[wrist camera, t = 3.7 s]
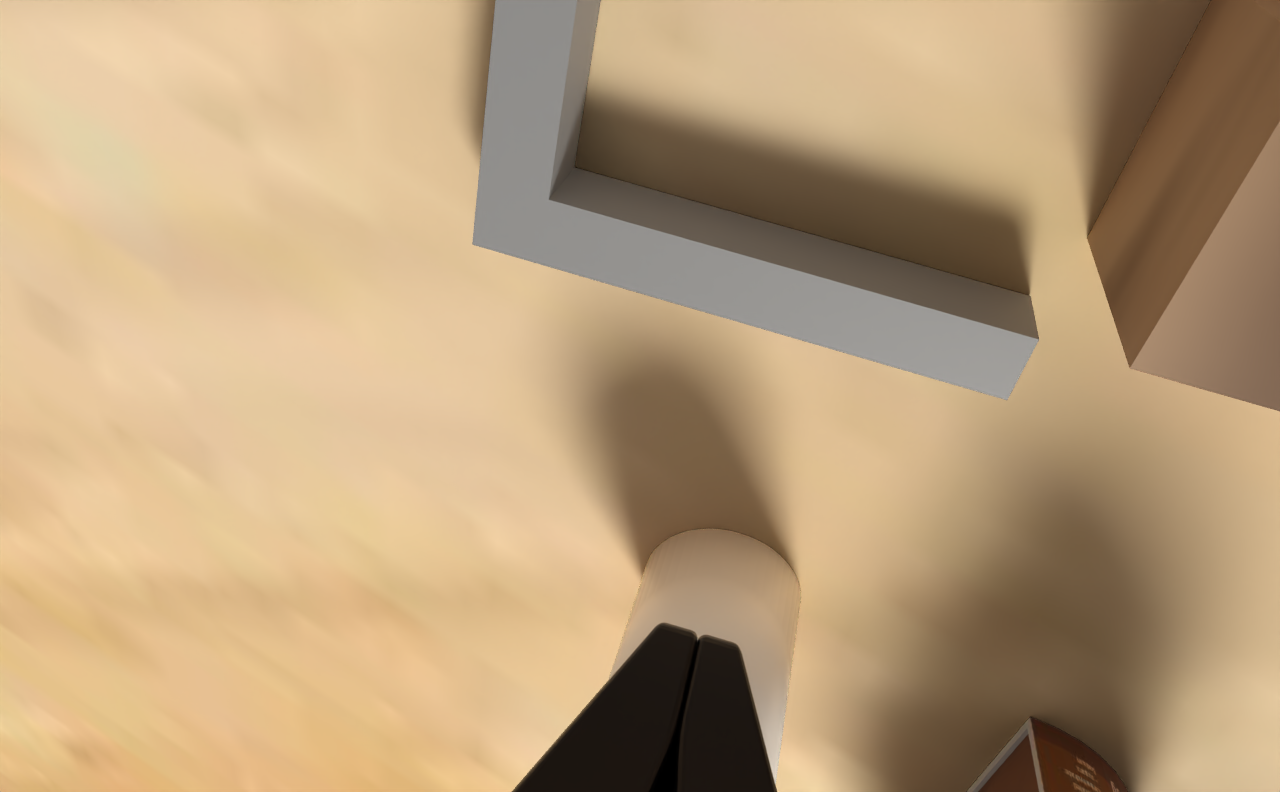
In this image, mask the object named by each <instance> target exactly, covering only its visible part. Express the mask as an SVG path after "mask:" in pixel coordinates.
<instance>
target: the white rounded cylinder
mask: <svg viewBox="0 0 1280 792" xmlns="http://www.w3.org/2000/svg"><path fill="white" fill-rule="evenodd" d="M800 603H801V590H800V586H799V582H798V580H797V577H796V575H795V573H794V572H793V570H792V568H791V567H790V566H789V565H788V563H787V562H786V561H785V560H784V559H783V558H782V557H781V556H780V555H779V554H778V553H777V552H775V551H774V550H773V549H772V548H770V547H769V546H767V545H765V544H764V543H762V542H760V541H758V540H756V539H754V538H752V537H749V536H747V535H744V534H741V533H737V532H733V531H729V530H722V529H696V530H689V531H685V532H682V533H679V534H676V535H674V536H672V537H670V538H668V539H667V540H665V541H663V542H662V543H661V544H660V545H659V546H657V548H656V549H655V550H654V551H653V552H652V554H651V556H650V557H649V559H648V562H647V564H646V567H645V570H644V573H643V576H642V580H641V583H640V586H639V589H638V592H637V595H636V598H635V601H634V604H633V607H632V610H631V613H630V616H629V619H628V622H627V625H626V628H625V631H624V634H623V637H622V640H621V643H620V646H619V649H618V652H617V655H616V659H615V662H614V665H613V668H612V671H611V674H610V677H609V679H610V678H611V677H612V676H613V675H614V673H615V672H616V671H617V670H618V669H619V668H620V666H621V665H622V664H623V663H624V662H625V661H626V660H627V658H628V657H629V656H630V655H631V654H632V653H633V652H634V650H635V649H636V648H637V647H638V646H639V645H640V643H641V642H642V641H643V640H644V639H645V638H646V637H647V635H648V634H649V633H650V632H651V631H652V630H653V628H654V627H655V626H657V625H658V624H660V623H663V622H664V623H669V624H672V625H676V626H679V627H683V628H686V629H690V630H692V631H694V632H695V633H696V634H697V637H698V639H699V637H700V636H702V635H710V636H714V637H717V638H720V639H724V640H727V641H731V642H734V643H736V644H737V645H738V646H739V647H740V650H741V652H742V655H743V659H744V663H745V667H746V671H747V675H748V679H749V683H750V687H751V691H752V695H753V699H754V703H755V706H756V710H757V714H758V718H759V722H760V726H761V730H762V734H763V738H764V742H765V746H766V750H767V754H768V758H769V762H770V766H771V770H772V773H773V777H774V781H775V785H776V778H777V770H778V763H779V756H780V749H781V741H782V734H783V727H784V719H785V712H786V705H787V698H788V690H789V683H790V676H791V669H792V661H793V654H794V647H795V639H796V632H797V625H798V618H799V610H800ZM698 639H697V641H698Z"/></svg>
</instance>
